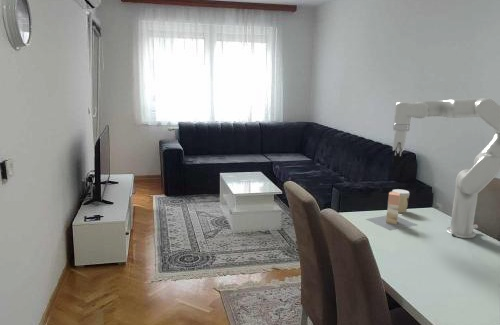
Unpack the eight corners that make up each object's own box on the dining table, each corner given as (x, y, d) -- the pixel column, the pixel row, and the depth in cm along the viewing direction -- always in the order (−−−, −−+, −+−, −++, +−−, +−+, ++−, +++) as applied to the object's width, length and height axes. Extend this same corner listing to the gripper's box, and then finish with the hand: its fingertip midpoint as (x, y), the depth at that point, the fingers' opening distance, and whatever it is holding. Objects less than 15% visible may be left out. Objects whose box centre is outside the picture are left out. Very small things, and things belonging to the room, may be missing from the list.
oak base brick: (386, 219, 206) (387, 210, 205) (397, 221, 204) (398, 212, 203) (385, 222, 201) (386, 213, 200) (396, 224, 199) (397, 214, 198)
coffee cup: (410, 214, 217) (412, 193, 215) (393, 214, 217) (395, 193, 215) (403, 209, 227) (406, 189, 224) (387, 209, 227) (389, 188, 224)
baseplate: (392, 216, 214) (392, 214, 214) (418, 226, 199) (418, 224, 199) (365, 220, 206) (365, 219, 206) (389, 232, 191) (390, 230, 191)
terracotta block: (388, 201, 204) (389, 191, 203) (399, 202, 202) (400, 193, 201) (387, 203, 199) (388, 194, 198) (398, 205, 197) (399, 195, 196)
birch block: (387, 210, 205) (388, 201, 204) (398, 212, 203) (399, 202, 202) (386, 213, 200) (387, 203, 199) (397, 214, 198) (398, 205, 197)
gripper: (394, 125, 202) (391, 158, 205) (391, 128, 186) (388, 164, 190) (410, 126, 199) (406, 159, 202) (408, 130, 183) (404, 166, 187)
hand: (397, 162), depth 196 cm, fingers open, 9 cm apart
